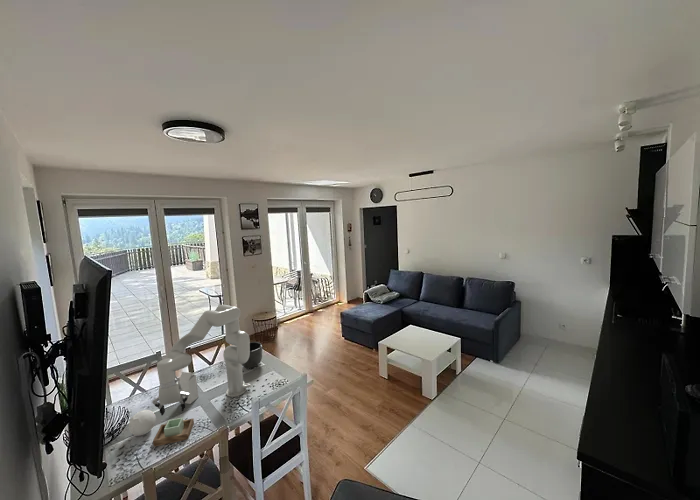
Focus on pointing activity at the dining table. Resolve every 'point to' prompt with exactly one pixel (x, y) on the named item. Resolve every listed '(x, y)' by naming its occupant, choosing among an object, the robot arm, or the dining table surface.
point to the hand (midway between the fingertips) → (173, 411)
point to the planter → (254, 355)
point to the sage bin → (174, 427)
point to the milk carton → (189, 386)
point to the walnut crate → (163, 440)
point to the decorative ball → (142, 422)
